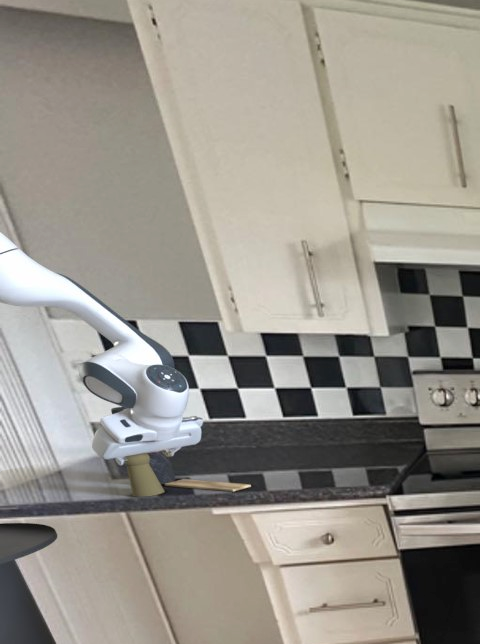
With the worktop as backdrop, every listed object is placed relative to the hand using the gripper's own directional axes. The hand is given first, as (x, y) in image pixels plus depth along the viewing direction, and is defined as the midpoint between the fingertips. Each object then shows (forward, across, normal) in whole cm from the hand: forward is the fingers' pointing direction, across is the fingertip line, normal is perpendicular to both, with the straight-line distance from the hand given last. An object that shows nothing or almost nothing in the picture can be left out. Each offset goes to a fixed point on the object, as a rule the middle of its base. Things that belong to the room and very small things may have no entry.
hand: (145, 458), depth 162 cm
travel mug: (+17, -7, -3) cm, 19 cm away
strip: (+5, -10, +8) cm, 14 cm away
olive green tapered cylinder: (+10, 0, +4) cm, 10 cm away
